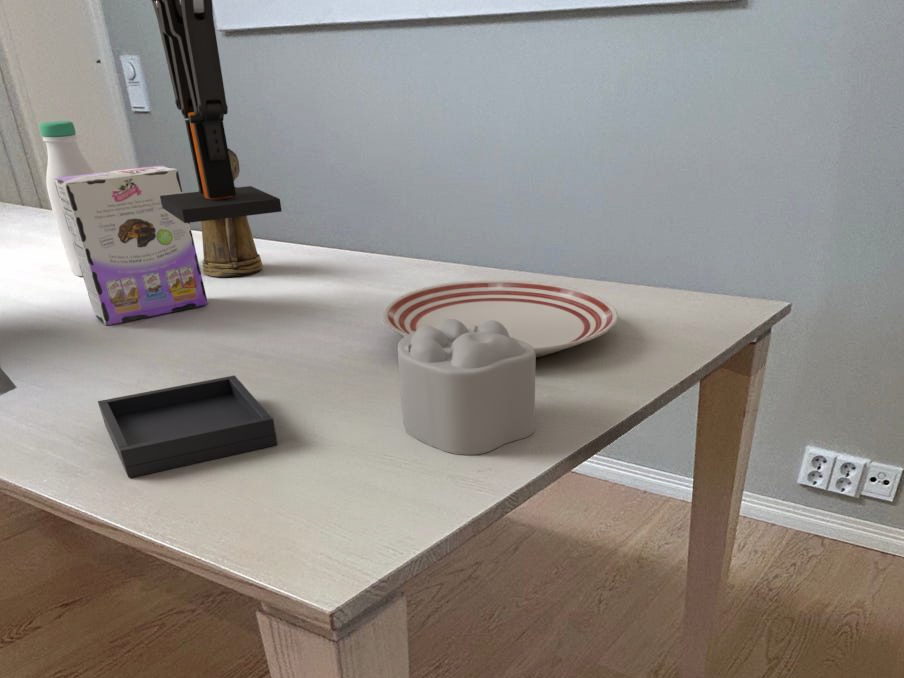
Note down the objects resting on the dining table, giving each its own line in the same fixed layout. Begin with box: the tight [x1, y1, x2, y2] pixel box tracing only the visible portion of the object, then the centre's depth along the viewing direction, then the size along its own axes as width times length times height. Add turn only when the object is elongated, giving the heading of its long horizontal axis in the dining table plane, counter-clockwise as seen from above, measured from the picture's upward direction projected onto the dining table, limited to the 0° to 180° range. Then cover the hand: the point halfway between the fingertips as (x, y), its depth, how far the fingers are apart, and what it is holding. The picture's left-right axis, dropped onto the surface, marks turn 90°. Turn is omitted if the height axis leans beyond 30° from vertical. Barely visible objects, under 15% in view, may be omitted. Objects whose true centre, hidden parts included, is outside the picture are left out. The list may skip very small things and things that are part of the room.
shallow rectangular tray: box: [97, 375, 279, 479], centre depth 76 cm, size 13×13×2 cm
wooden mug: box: [197, 148, 264, 278], centre depth 120 cm, size 9×14×18 cm, turn 19°
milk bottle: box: [38, 120, 95, 277], centre depth 123 cm, size 8×8×20 cm
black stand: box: [160, 112, 283, 224], centre depth 84 cm, size 10×10×9 cm
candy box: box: [54, 164, 209, 326], centre depth 105 cm, size 14×6×16 cm, turn 126°
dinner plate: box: [382, 279, 619, 358], centre depth 97 cm, size 28×27×3 cm
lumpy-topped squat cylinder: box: [397, 319, 537, 456], centre depth 75 cm, size 10×13×9 cm
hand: (217, 193), depth 86 cm, fingers closed on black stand, 3 cm apart
